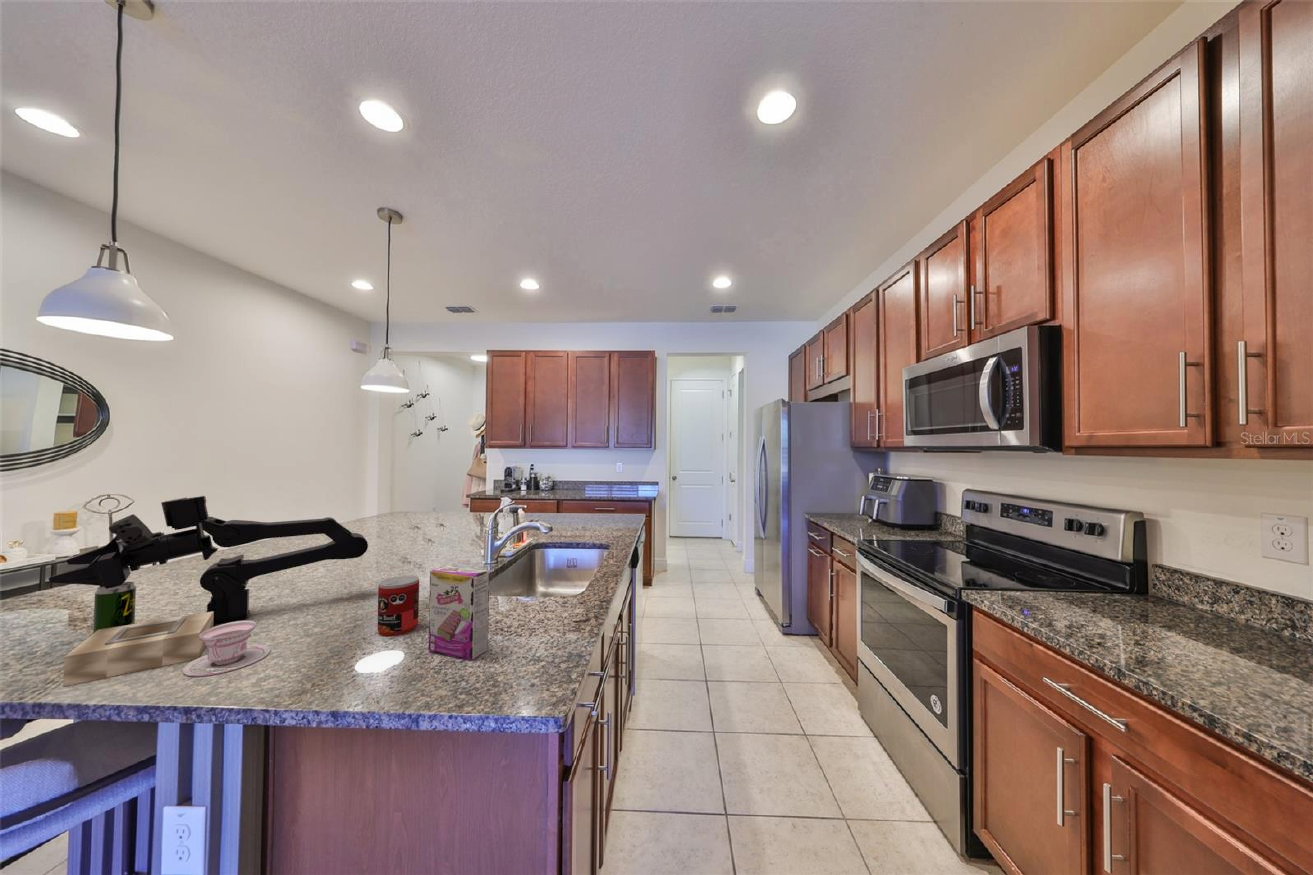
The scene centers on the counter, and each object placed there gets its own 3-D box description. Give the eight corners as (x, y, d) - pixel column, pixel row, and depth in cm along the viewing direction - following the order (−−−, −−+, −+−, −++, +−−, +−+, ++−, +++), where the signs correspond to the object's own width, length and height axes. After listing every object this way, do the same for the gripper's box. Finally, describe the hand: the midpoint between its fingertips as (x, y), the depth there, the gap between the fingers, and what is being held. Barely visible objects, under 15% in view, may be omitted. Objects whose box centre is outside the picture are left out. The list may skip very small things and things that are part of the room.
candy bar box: (426, 653, 86) (428, 570, 86) (446, 642, 90) (447, 564, 91) (471, 662, 82) (472, 576, 83) (489, 651, 87) (490, 569, 87)
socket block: (213, 634, 94) (213, 609, 94) (198, 658, 83) (199, 631, 83) (97, 655, 84) (98, 628, 84) (63, 686, 73) (64, 655, 73)
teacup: (205, 653, 86) (206, 622, 86) (280, 643, 90) (281, 613, 91) (165, 683, 75) (166, 647, 75) (254, 670, 79) (255, 636, 80)
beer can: (86, 651, 86) (88, 591, 86) (100, 641, 91) (103, 584, 91) (127, 644, 89) (129, 586, 89) (138, 635, 93) (141, 579, 94)
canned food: (369, 633, 95) (370, 583, 95) (402, 620, 102) (403, 573, 103) (393, 639, 92) (394, 587, 92) (425, 625, 99) (426, 577, 100)
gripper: (170, 501, 102) (63, 519, 92) (151, 526, 88) (23, 551, 78) (182, 544, 105) (80, 566, 95) (166, 575, 91) (44, 605, 81)
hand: (58, 570), depth 87 cm, fingers open, 9 cm apart
